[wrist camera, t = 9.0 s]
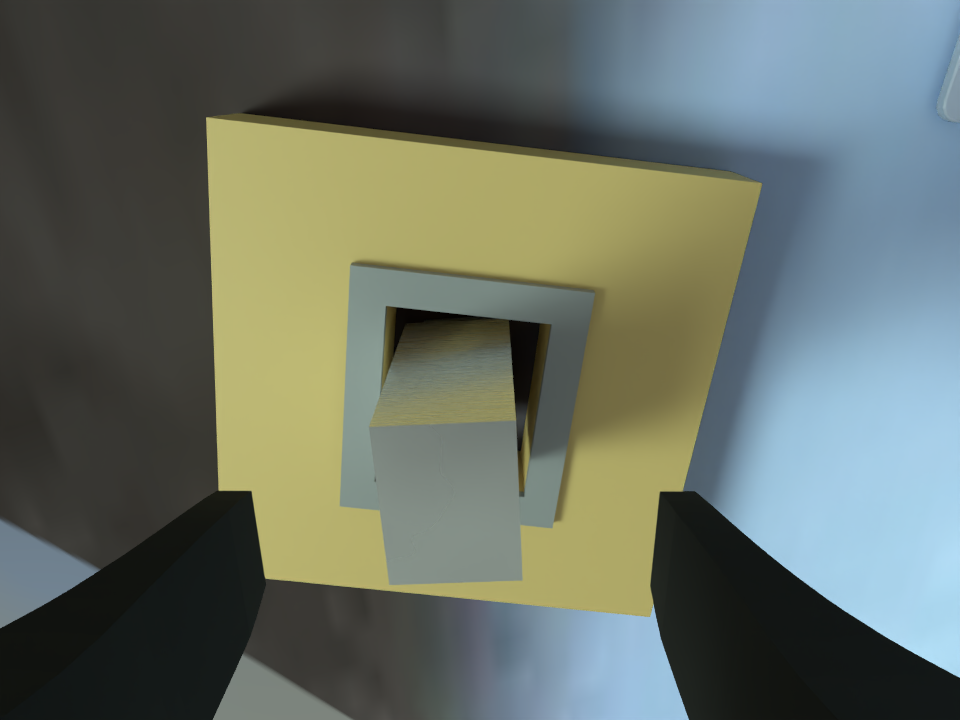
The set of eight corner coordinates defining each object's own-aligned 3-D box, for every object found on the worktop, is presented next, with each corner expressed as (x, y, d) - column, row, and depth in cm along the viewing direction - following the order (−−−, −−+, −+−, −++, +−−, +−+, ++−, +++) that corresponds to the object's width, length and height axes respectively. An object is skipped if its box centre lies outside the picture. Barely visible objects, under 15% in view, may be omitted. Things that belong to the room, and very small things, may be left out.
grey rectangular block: (507, 303, 21) (516, 420, 14) (512, 418, 23) (522, 580, 16) (410, 307, 22) (368, 426, 14) (422, 422, 23) (389, 585, 16)
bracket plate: (731, 171, 20) (766, 184, 17) (635, 567, 25) (652, 623, 22) (240, 113, 19) (201, 118, 17) (246, 527, 25) (218, 580, 22)
